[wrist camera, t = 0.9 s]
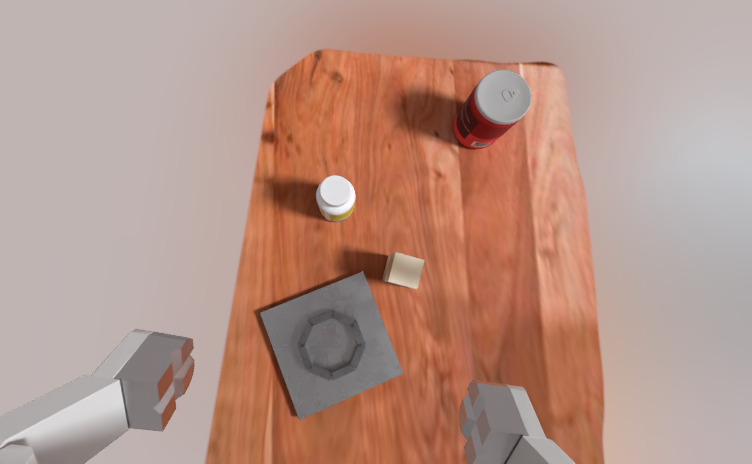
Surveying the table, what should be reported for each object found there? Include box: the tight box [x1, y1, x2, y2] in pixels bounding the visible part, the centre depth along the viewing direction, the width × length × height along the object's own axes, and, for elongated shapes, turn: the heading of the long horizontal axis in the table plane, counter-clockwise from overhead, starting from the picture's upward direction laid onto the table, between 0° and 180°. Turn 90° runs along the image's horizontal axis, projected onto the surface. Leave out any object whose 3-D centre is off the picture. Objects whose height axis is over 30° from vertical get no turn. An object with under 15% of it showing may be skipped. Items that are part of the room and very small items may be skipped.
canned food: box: [454, 70, 532, 149], centre depth 54 cm, size 8×8×11 cm
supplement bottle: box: [316, 175, 355, 222], centre depth 51 cm, size 5×5×10 cm
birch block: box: [382, 252, 424, 289], centre depth 52 cm, size 4×4×8 cm
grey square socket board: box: [260, 272, 403, 420], centre depth 52 cm, size 16×16×3 cm
